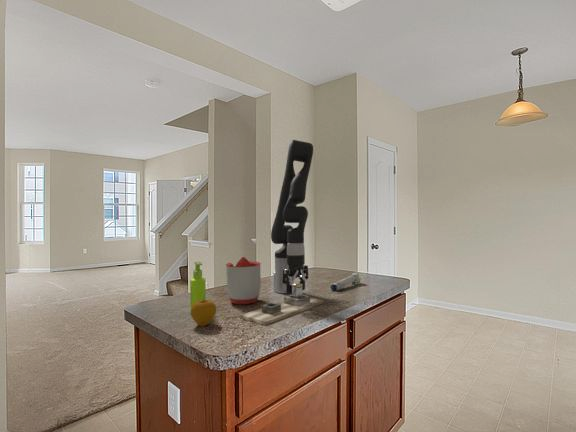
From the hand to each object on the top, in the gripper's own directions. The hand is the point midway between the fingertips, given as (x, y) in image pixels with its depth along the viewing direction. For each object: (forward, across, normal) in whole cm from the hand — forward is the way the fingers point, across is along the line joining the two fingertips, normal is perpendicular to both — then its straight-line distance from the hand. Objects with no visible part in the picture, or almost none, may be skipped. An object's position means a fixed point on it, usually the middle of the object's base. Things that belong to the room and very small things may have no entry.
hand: (296, 291), depth 137 cm
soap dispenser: (+6, +31, -25) cm, 40 cm away
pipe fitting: (+5, 0, 0) cm, 5 cm away
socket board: (+6, +8, 0) cm, 10 cm away
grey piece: (+6, -44, -2) cm, 44 cm away
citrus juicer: (+6, +9, -24) cm, 26 cm away
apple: (+6, +39, -10) cm, 41 cm away
